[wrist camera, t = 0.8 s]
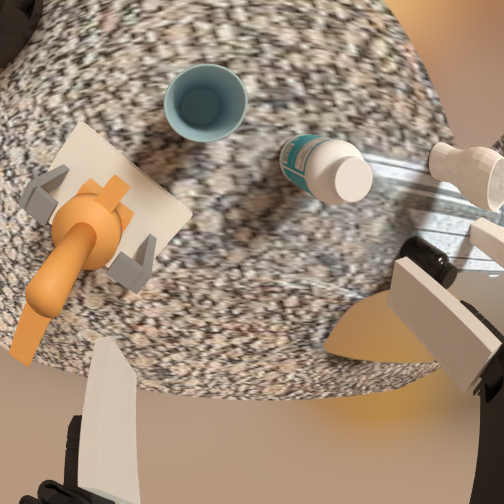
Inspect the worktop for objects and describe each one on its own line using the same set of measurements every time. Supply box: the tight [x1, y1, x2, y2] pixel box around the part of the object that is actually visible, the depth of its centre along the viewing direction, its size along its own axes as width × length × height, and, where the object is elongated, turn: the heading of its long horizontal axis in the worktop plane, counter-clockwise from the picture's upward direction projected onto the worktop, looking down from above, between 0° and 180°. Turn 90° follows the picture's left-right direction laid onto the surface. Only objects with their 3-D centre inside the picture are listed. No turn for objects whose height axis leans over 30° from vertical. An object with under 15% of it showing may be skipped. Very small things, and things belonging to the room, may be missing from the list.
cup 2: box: [429, 142, 504, 211], centre depth 37 cm, size 11×11×15 cm
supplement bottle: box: [401, 236, 457, 289], centre depth 46 cm, size 7×7×12 cm
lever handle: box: [9, 174, 134, 366], centre depth 23 cm, size 8×16×17 cm, turn 134°
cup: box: [164, 64, 247, 142], centre depth 27 cm, size 8×8×10 cm
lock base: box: [18, 122, 192, 294], centre depth 29 cm, size 20×14×11 cm
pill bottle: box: [279, 134, 372, 205], centre depth 32 cm, size 8×7×14 cm
